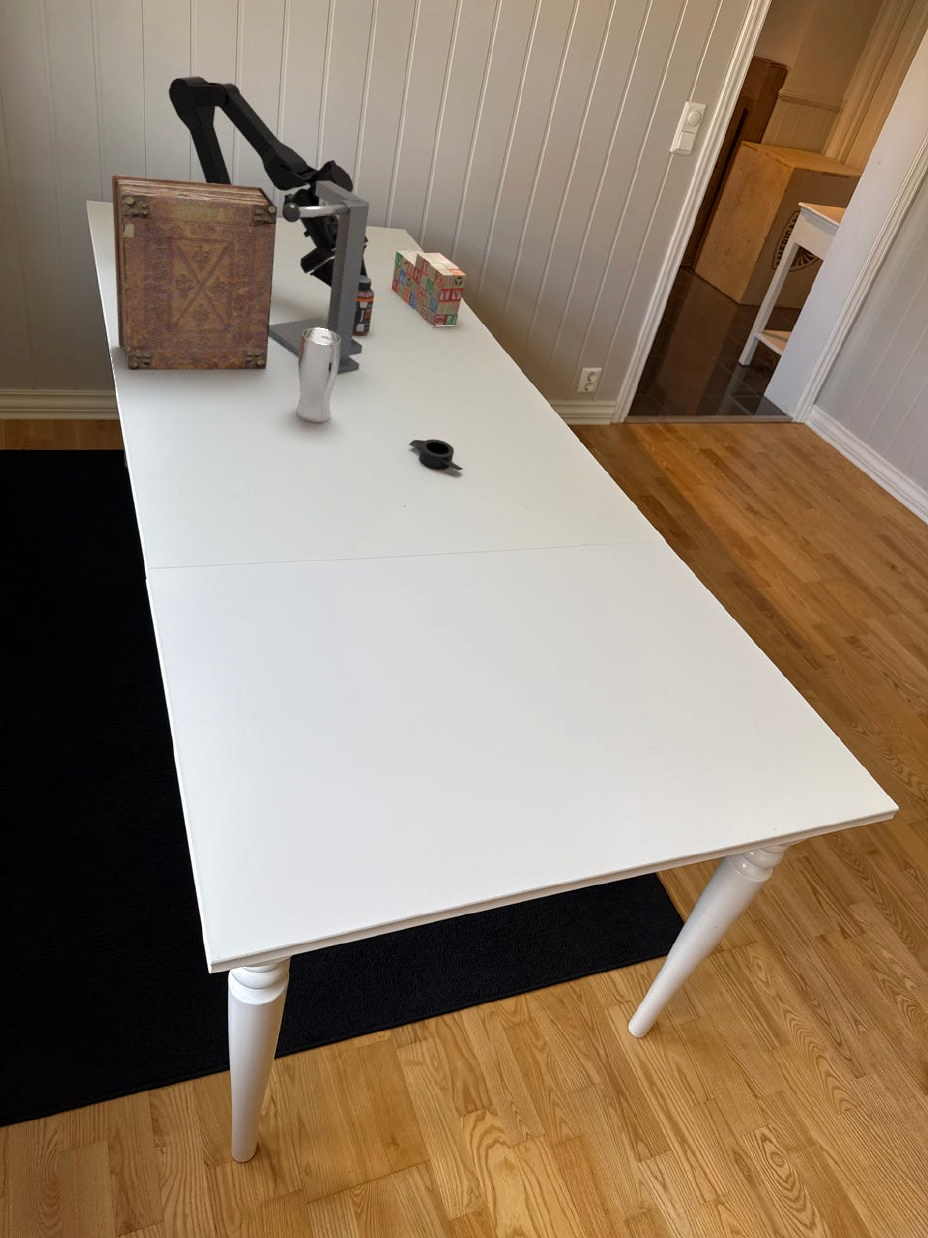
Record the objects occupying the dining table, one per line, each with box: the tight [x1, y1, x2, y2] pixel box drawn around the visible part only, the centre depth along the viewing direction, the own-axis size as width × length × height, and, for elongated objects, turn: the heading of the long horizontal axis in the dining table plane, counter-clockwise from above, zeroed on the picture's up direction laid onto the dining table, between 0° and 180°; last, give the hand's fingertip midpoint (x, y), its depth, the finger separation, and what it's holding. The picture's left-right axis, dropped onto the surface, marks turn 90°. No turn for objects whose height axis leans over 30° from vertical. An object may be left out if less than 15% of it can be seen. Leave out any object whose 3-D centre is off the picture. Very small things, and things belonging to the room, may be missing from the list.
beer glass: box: [295, 328, 341, 424], centre depth 154 cm, size 7×7×15 cm
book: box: [111, 174, 278, 371], centre depth 156 cm, size 25×9×30 cm, turn 115°
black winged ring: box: [408, 438, 464, 471], centre depth 154 cm, size 8×10×3 cm
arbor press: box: [268, 181, 370, 375], centre depth 166 cm, size 20×24×32 cm
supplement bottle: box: [352, 275, 375, 336], centre depth 186 cm, size 6×6×11 cm
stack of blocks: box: [391, 250, 467, 326], centre depth 204 cm, size 21×6×12 cm, turn 31°
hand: (356, 289), depth 184 cm, fingers open, 9 cm apart
